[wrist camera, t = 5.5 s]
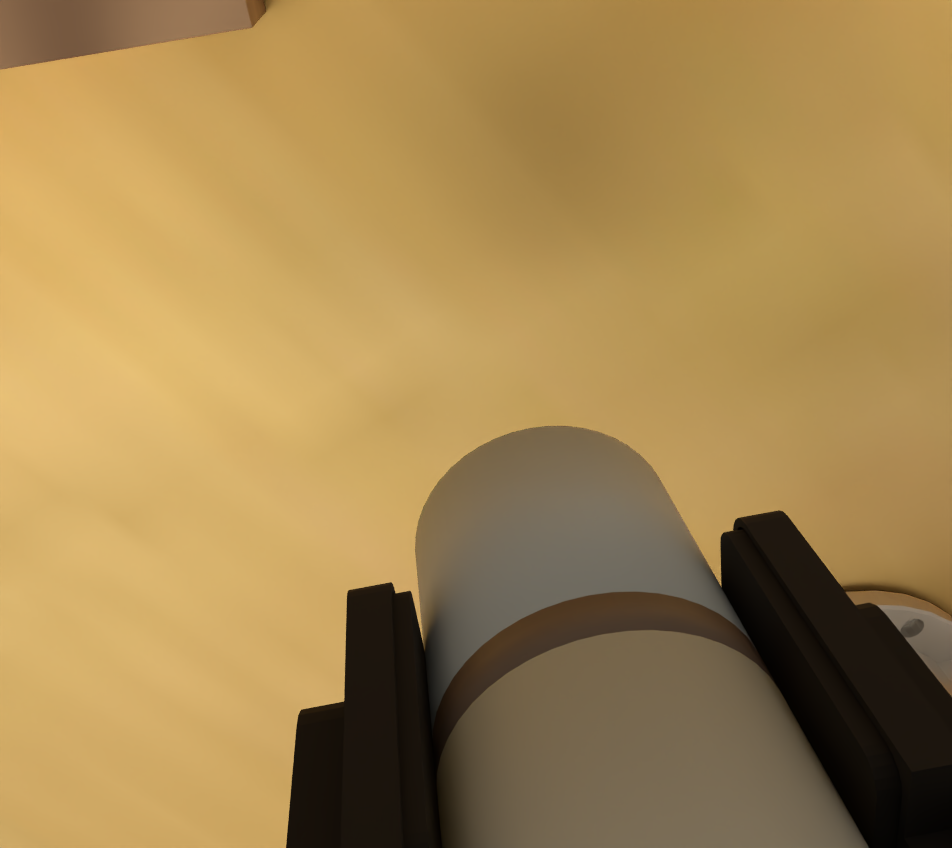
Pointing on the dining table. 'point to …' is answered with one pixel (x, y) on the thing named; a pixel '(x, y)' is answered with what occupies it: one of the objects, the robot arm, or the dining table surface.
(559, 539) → the peg
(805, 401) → the dining table surface
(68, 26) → the board
